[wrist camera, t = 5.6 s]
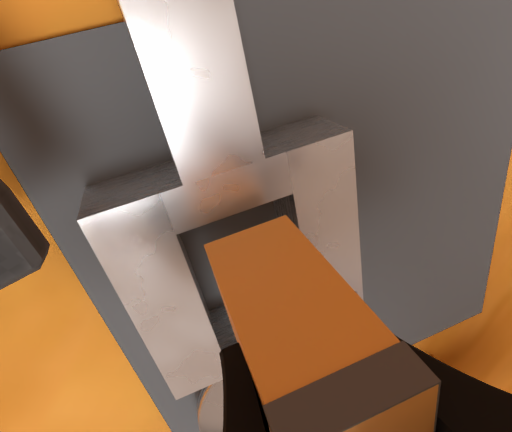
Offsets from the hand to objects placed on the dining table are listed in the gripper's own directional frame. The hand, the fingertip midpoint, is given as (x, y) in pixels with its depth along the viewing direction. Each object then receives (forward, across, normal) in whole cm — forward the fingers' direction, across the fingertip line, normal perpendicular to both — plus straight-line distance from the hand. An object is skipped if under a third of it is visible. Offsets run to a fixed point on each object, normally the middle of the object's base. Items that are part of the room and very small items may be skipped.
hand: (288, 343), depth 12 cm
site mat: (+7, -5, +2) cm, 9 cm away
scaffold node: (+7, 0, +2) cm, 7 cm away
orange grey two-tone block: (+2, 0, -1) cm, 3 cm away
